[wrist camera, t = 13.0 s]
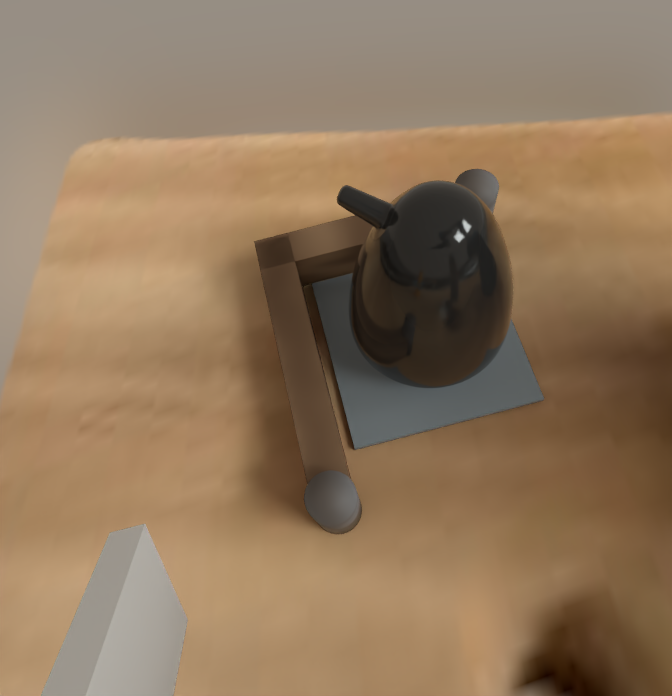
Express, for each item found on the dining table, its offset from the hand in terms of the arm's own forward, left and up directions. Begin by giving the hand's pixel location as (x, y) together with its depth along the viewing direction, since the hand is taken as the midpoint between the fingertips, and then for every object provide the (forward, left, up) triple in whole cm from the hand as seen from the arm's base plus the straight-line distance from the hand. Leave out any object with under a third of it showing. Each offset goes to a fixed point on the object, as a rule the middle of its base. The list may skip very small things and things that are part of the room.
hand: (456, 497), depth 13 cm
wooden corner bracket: (-4, -13, -25) cm, 29 cm away
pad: (-5, -14, -25) cm, 30 cm away
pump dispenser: (-5, -14, -25) cm, 29 cm away
